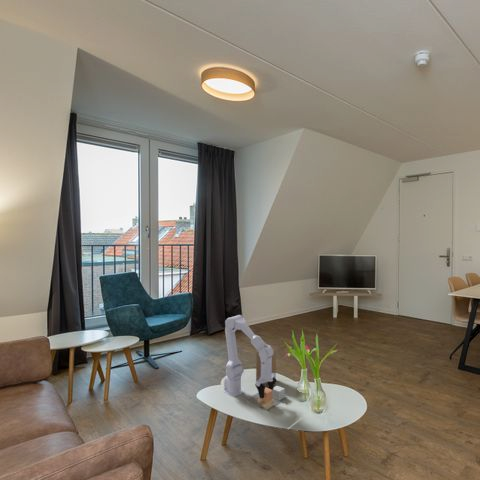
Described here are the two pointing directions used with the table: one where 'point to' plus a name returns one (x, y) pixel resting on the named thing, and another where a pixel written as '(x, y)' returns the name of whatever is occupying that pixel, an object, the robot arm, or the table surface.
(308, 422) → the table surface
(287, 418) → the table surface
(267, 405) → the maple block
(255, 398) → the grey square mat
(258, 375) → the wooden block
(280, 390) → the blue-grey cube
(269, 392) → the terracotta cube
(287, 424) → the table surface
